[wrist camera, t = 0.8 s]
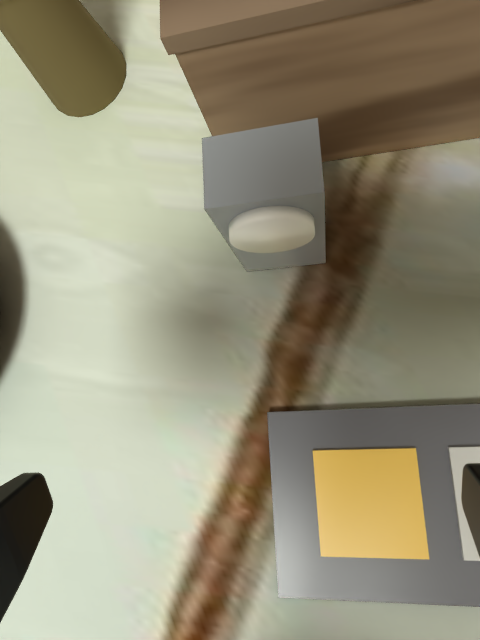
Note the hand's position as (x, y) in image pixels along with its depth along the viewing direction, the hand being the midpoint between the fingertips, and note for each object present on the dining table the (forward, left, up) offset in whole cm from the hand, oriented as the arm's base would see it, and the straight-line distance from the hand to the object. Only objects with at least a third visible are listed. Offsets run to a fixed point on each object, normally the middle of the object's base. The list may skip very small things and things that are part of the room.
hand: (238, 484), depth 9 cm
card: (-4, -7, -14) cm, 16 cm away
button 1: (+10, 0, -14) cm, 17 cm away
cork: (+24, +13, -14) cm, 31 cm away
